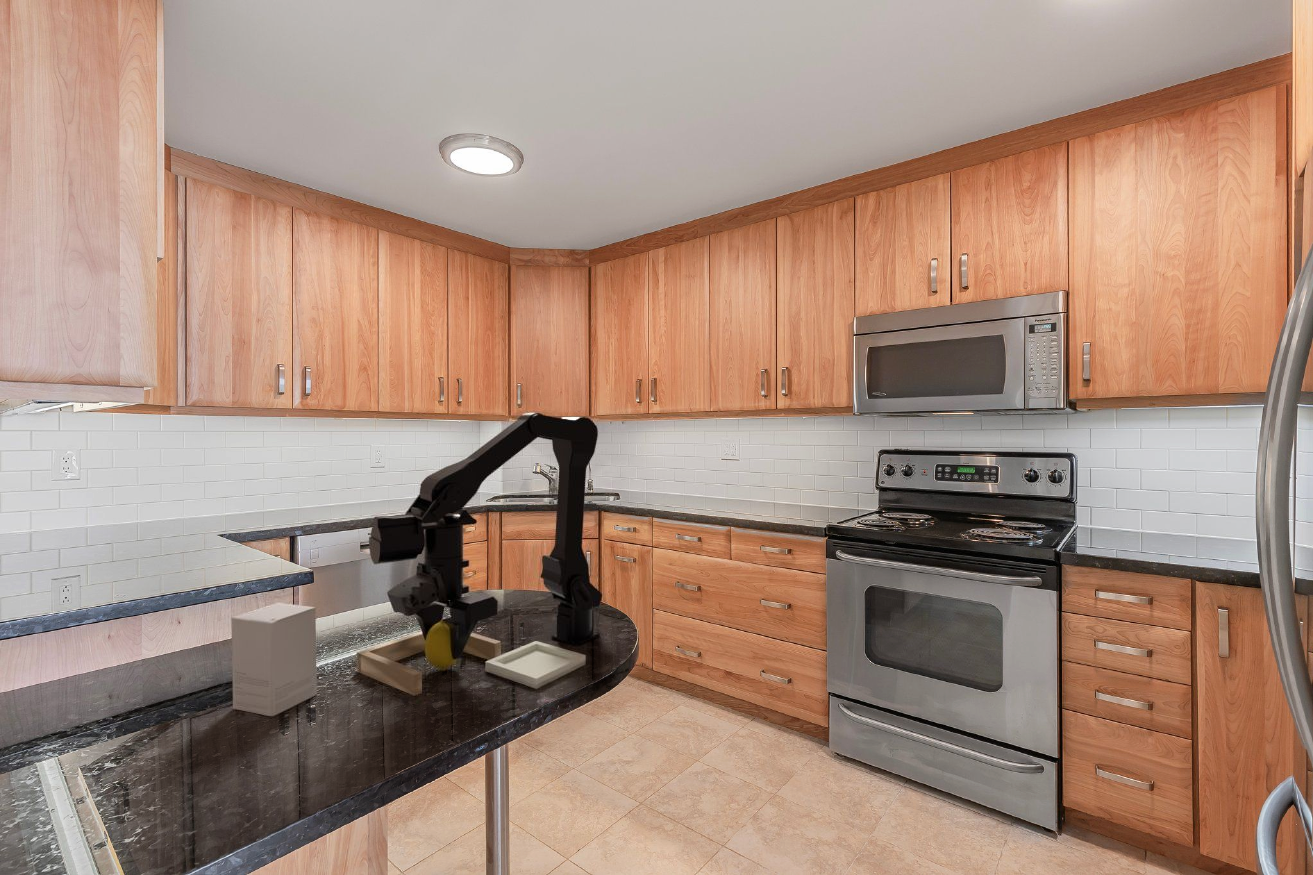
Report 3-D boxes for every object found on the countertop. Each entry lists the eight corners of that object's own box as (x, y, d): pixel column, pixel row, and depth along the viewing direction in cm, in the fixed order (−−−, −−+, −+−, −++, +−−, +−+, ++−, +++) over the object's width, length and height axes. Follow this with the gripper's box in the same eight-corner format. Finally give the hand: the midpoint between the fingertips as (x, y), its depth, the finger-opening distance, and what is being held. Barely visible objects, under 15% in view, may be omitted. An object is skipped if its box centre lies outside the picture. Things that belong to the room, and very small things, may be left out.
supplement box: (318, 694, 88) (318, 606, 87) (271, 718, 81) (270, 622, 80) (280, 686, 90) (279, 600, 90) (230, 709, 83) (229, 616, 83)
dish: (535, 649, 106) (535, 640, 105) (585, 664, 99) (585, 655, 99) (485, 671, 96) (485, 661, 96) (536, 688, 90) (536, 678, 90)
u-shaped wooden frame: (443, 640, 109) (443, 624, 109) (500, 659, 101) (500, 641, 101) (356, 671, 96) (356, 652, 96) (414, 695, 88) (414, 674, 88)
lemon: (450, 679, 93) (450, 626, 93) (417, 675, 94) (417, 624, 94) (468, 665, 99) (469, 615, 98) (437, 661, 100) (437, 612, 100)
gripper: (360, 556, 94) (360, 657, 95) (437, 574, 84) (437, 687, 85) (423, 544, 104) (423, 636, 104) (500, 559, 93) (500, 661, 94)
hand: (443, 654), depth 96 cm, fingers closed on lemon, 6 cm apart
